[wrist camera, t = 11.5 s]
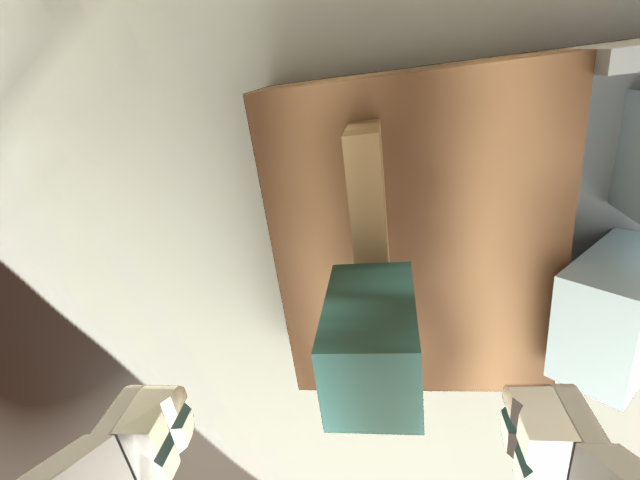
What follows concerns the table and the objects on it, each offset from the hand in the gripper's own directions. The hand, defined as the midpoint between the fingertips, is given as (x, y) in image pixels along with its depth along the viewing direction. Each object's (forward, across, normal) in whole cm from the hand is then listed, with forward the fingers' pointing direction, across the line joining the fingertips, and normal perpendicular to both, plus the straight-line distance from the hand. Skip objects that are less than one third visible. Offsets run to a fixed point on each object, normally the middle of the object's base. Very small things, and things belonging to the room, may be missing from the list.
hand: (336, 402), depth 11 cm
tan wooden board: (+12, -3, 0) cm, 13 cm away
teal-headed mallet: (+8, -1, 0) cm, 9 cm away
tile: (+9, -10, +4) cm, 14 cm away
